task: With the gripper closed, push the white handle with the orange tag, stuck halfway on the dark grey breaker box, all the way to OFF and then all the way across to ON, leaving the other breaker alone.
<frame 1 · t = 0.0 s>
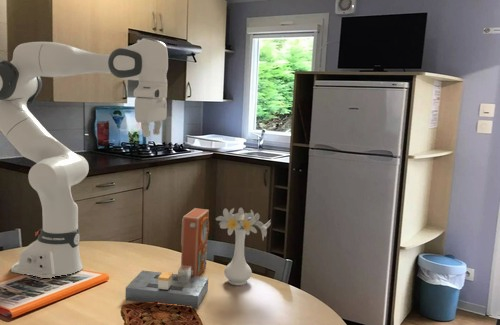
hand: (151, 135, 149), 48 cm above the table, tool pointing down, fingers open, 8 cm apart
flower vase: (239, 282, 158), on the table
orange retro radio: (193, 272, 164), on the table
tripped breaker: (165, 280, 141), point 6 cm above the table, slide at 4.0 cm
breaker box: (168, 294, 145), on the table
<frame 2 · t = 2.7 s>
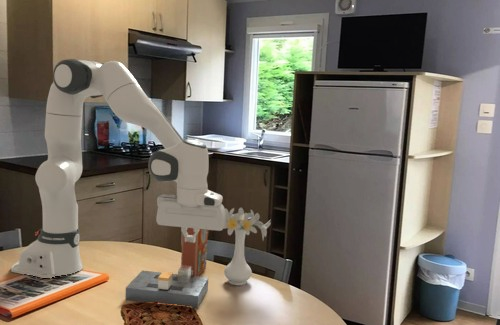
hand: (190, 241, 138), 19 cm above the table, tool pointing down, fingers closed
nothing on the table moved.
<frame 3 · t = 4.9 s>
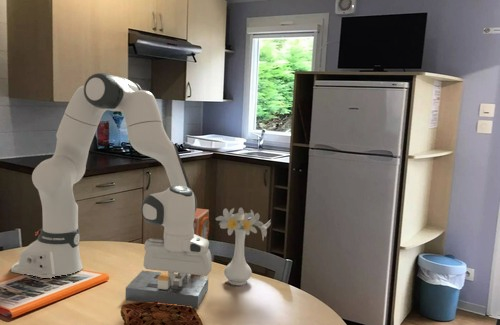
hand: (176, 285, 140), 5 cm above the table, tool pointing down, fingers closed
tripped breaker: (165, 280, 141), point 6 cm above the table, slide at 3.9 cm, touching gripper
everything else where it was.
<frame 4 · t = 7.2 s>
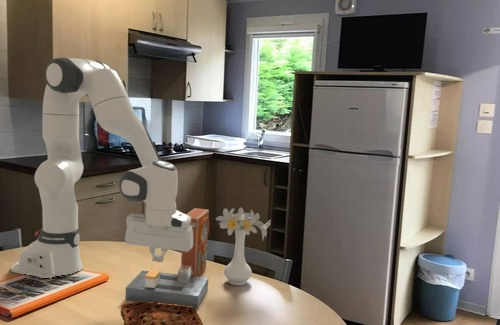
hand: (157, 261, 140), 12 cm above the table, tool pointing down, fingers closed
tripped breaker: (152, 279, 141), point 6 cm above the table, slide at 0.0 cm
everything else where it was.
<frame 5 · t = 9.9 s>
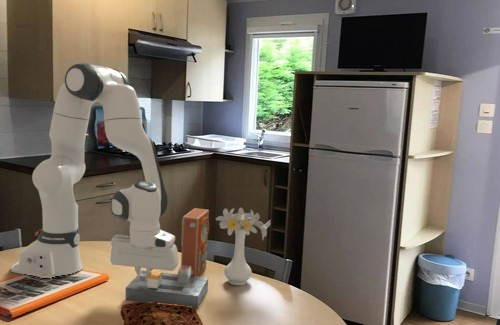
hand: (143, 280, 142), 5 cm above the table, tool pointing down, fingers closed
tripped breaker: (154, 279, 141), point 6 cm above the table, slide at 0.7 cm, touching gripper
everything else where it was.
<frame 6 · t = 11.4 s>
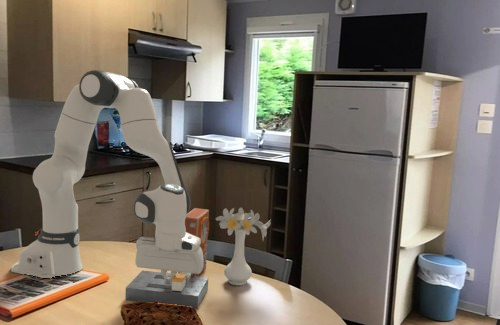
hand: (168, 283, 141), 5 cm above the table, tool pointing down, fingers closed
tripped breaker: (178, 282, 140), point 6 cm above the table, slide at 8.2 cm, touching gripper
everything else where it was.
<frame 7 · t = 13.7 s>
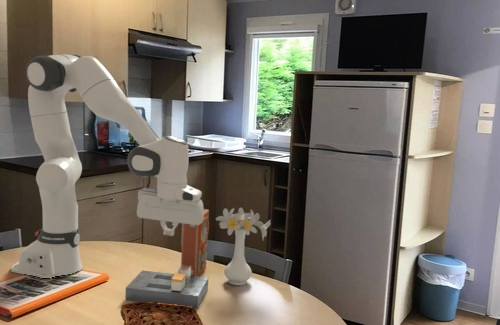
hand: (168, 235, 142), 19 cm above the table, tool pointing down, fingers closed
tripped breaker: (178, 282, 140), point 6 cm above the table, slide at 8.0 cm
everything else where it was.
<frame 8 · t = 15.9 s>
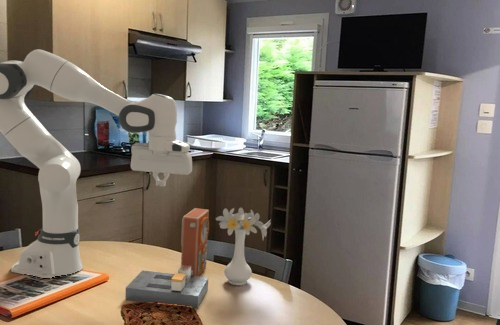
hand: (160, 185, 155), 31 cm above the table, tool pointing down, fingers closed
nothing on the table moved.
at the end: tripped breaker slide at 8.0 cm; orange retro radio moved 0.2 cm from its start; flower vase moved 0.2 cm from its start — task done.
